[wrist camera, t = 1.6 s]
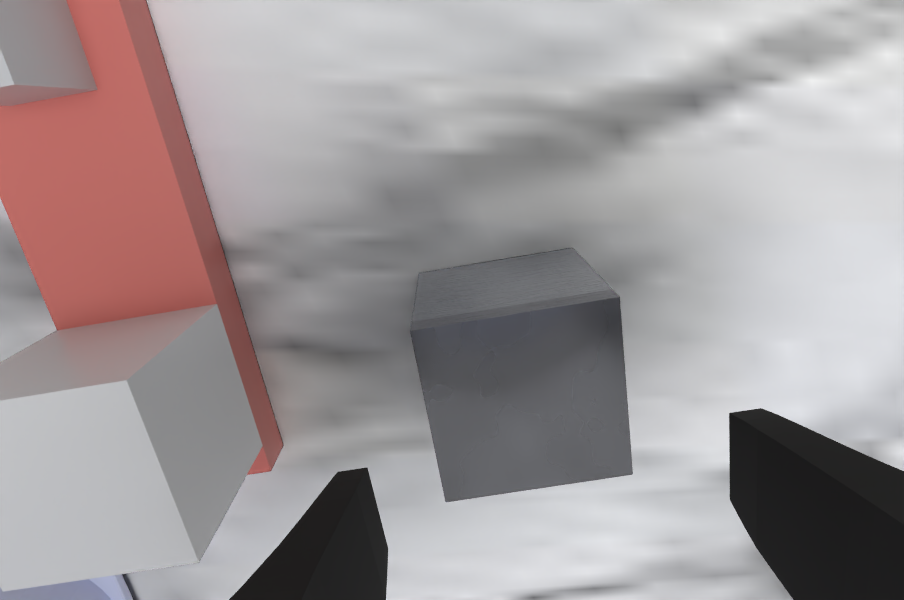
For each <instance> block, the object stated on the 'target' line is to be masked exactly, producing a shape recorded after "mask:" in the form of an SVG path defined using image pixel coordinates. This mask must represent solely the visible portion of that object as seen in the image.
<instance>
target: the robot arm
mask: <svg viewBox="0 0 904 600" xmlns="http://www.w3.org/2000/svg"><path fill="white" fill-rule="evenodd" d="M729 431H730V501H731V502H732V504H733V506H734V508H735V510H736V512H737V514H738V516H739V517H740V519H741V521H742V523H743V525H744V527H745V529H746V530H747V532H748V534H749V536H750V537H751V539H752V541H753V543H754V544H755V546H756V548H757V549H758V551H759V552H760V553H761V555H762V556H763V558H764V559H765V561H766V562H767V563H768V565H769V566H770V568H771V569H772V570H773V572H774V573H775V574H776V576H777V577H778V579H779V580H780V581H781V583H782V584H783V586H784V587H785V588H786V590H787V591H788V592H789V594H790V595H791V597H792V598H793V599H794V600H904V471H901V470H899V469H897V468H894V467H892V466H890V465H887V464H885V463H883V462H880V461H878V460H876V459H874V458H871V457H869V456H867V455H865V454H862V453H860V452H858V451H856V450H853V449H851V448H849V447H847V446H845V445H842V444H840V443H838V442H836V441H834V440H832V439H829V438H827V437H825V436H823V435H821V434H819V433H816V432H814V431H812V430H810V429H808V428H806V427H803V426H801V425H799V424H797V423H795V422H792V421H790V420H788V419H786V418H784V417H781V416H779V415H777V414H774V413H772V412H769V411H767V410H764V409H761V408H760V409H754V410H747V411H741V412H734V413H729ZM387 564H388V547H387V543H386V539H385V535H384V531H383V527H382V523H381V519H380V515H379V511H378V508H377V504H376V500H375V496H374V492H373V488H372V484H371V480H370V476H369V472H368V469H367V468H361V469H355V470H348V471H341V472H337V474H336V475H335V476H334V477H333V478H332V480H331V481H330V482H329V483H328V485H327V486H326V487H325V488H324V490H323V491H322V492H321V493H320V495H319V496H318V497H317V499H316V500H315V501H314V502H313V504H312V505H311V506H310V507H309V509H308V510H307V511H306V513H305V514H304V515H303V516H302V518H301V519H300V520H299V521H298V523H297V524H296V525H295V526H294V528H293V529H292V530H291V531H290V532H289V534H288V535H287V536H286V537H285V539H284V540H283V541H282V542H281V543H280V545H279V546H278V547H277V548H276V549H275V550H274V551H273V552H272V554H271V555H270V556H269V557H268V558H267V559H266V560H265V561H264V563H263V564H262V565H261V566H260V567H259V568H258V569H257V570H256V571H255V573H254V574H253V575H252V576H251V577H250V578H249V579H248V580H247V582H246V583H245V584H244V585H243V586H242V587H241V588H240V589H239V590H238V591H237V592H236V593H235V594H234V595H233V596H232V597H231V598H230V599H229V600H386V586H387ZM0 600H133V598H132V596H131V593H130V591H129V589H128V587H127V585H126V583H125V580H124V578H123V576H122V574H120V575H113V576H106V577H99V578H92V579H85V580H79V581H72V582H65V583H58V584H51V585H45V586H38V587H31V588H24V589H17V590H11V591H4V592H3V591H2V589H1V587H0Z"/></svg>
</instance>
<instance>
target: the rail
mask: <svg viewBox="0 0 904 600" xmlns="http://www.w3.org/2000/svg"><path fill="white" fill-rule="evenodd" d="M0 198H1V200H2V203H3V205H4V207H5V210H6V212H7V214H8V217H9V219H10V221H11V224H12V226H13V228H14V231H15V233H16V235H17V238H18V240H19V242H20V245H21V247H22V249H23V252H24V254H25V256H26V259H27V261H28V263H29V266H30V268H31V270H32V273H33V275H34V277H35V280H36V282H37V284H38V287H39V289H40V291H41V294H42V296H43V298H44V301H45V303H46V305H47V308H48V310H49V312H50V315H51V317H52V319H53V322H54V324H55V326H56V329H57V331H55V332H53V333H52V334H50V335H48V336H46V337H45V338H43V339H41V340H39V341H37V342H36V343H34V344H32V345H30V346H29V347H27V348H25V349H23V350H22V351H20V352H18V353H16V354H14V355H13V356H11V357H9V358H7V359H6V360H4V361H2V362H0V587H1V589H2V591H3V592H4V591H11V590H17V589H24V588H31V587H38V586H45V585H51V584H58V583H65V582H72V581H79V580H85V579H92V578H99V577H106V576H113V575H120V574H126V573H133V572H140V571H147V570H154V569H160V568H167V567H174V566H181V565H188V564H194V563H199V562H200V560H201V558H202V556H203V555H204V553H205V551H206V549H207V547H208V545H209V544H210V542H211V540H212V538H213V536H214V534H215V533H216V531H217V529H218V527H219V525H220V523H221V522H222V520H223V518H224V516H225V514H226V512H227V510H228V509H229V507H230V505H231V503H232V501H233V499H234V498H235V496H236V494H237V492H238V490H239V488H240V487H241V485H242V483H243V481H244V479H245V477H246V476H247V475H249V474H255V473H262V472H268V471H271V470H272V468H273V466H274V464H275V462H276V460H277V457H278V455H279V453H280V451H281V449H282V447H283V443H282V440H281V437H280V433H279V430H278V427H277V424H276V420H275V417H274V414H273V411H272V408H271V404H270V401H269V398H268V395H267V391H266V388H265V385H264V382H263V378H262V375H261V372H260V369H259V365H258V362H257V359H256V356H255V352H254V349H253V346H252V343H251V340H250V336H249V333H248V330H247V327H246V323H245V320H244V317H243V314H242V310H241V307H240V304H239V301H238V297H237V294H236V291H235V288H234V285H233V281H232V278H231V275H230V272H229V268H228V265H227V262H226V259H225V255H224V252H223V249H222V246H221V242H220V239H219V236H218V233H217V229H216V226H215V223H214V220H213V217H212V213H211V210H210V207H209V204H208V200H207V197H206V194H205V191H204V187H203V184H202V181H201V178H200V174H199V171H198V168H197V165H196V161H195V158H194V155H193V152H192V149H191V145H190V142H189V139H188V136H187V132H186V129H185V126H184V123H183V119H182V116H181V113H180V110H179V106H178V103H177V100H176V97H175V94H174V90H173V87H172V84H171V81H170V77H169V74H168V71H167V68H166V64H165V61H164V58H163V55H162V51H161V48H160V45H159V42H158V38H157V35H156V32H155V29H154V26H153V22H152V19H151V16H150V13H149V9H148V6H147V3H146V0H0Z"/></svg>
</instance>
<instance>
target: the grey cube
mask: <svg viewBox="0 0 904 600" xmlns="http://www.w3.org/2000/svg"><path fill="white" fill-rule="evenodd" d="M410 332H411V337H412V342H413V346H414V351H415V356H416V361H417V366H418V371H419V375H420V380H421V385H422V390H423V395H424V400H425V404H426V409H427V414H428V419H429V424H430V429H431V433H432V438H433V443H434V448H435V453H436V458H437V462H438V467H439V472H440V477H441V482H442V487H443V491H444V496H445V501H446V502H451V501H457V500H464V499H471V498H478V497H484V496H491V495H498V494H504V493H511V492H518V491H525V490H531V489H538V488H545V487H552V486H558V485H565V484H572V483H578V482H585V481H592V480H599V479H605V478H612V477H619V476H626V475H632V474H633V471H632V457H631V444H630V430H629V417H628V403H627V390H626V377H625V363H624V350H623V336H622V323H621V309H620V297H619V296H618V295H617V294H616V293H615V292H614V291H613V290H612V288H611V287H610V286H609V285H608V284H607V283H606V282H605V281H604V280H603V279H602V278H601V277H600V276H599V275H598V274H597V273H596V272H595V271H594V269H593V268H592V267H591V266H590V265H589V264H588V263H587V262H586V261H585V260H584V259H583V258H582V257H581V256H580V255H579V254H578V253H577V252H576V251H575V249H574V248H568V249H562V250H556V251H550V252H544V253H538V254H532V255H526V256H520V257H514V258H508V259H502V260H496V261H490V262H484V263H478V264H471V265H465V266H459V267H453V268H447V269H441V270H435V271H429V272H423V273H419V277H418V284H417V290H416V297H415V303H414V310H413V316H412V323H411V329H410Z"/></svg>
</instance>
